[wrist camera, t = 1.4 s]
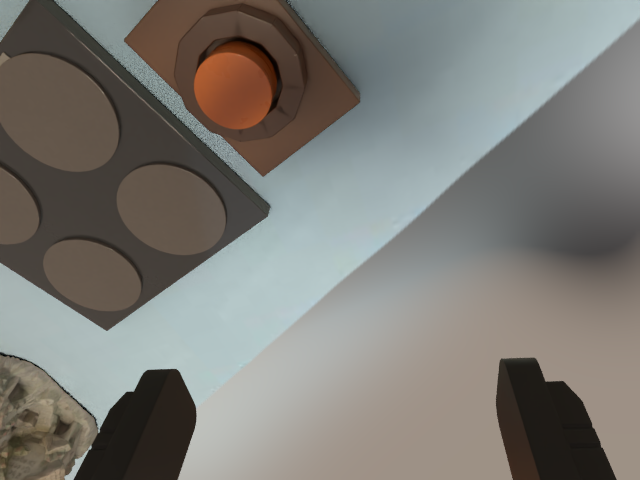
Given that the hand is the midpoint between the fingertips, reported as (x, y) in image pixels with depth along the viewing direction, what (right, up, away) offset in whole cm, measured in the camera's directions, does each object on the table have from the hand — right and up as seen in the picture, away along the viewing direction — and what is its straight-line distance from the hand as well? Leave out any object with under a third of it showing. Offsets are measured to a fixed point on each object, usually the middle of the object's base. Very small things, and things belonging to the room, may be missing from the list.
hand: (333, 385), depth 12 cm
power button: (-5, +12, +14) cm, 19 cm away
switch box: (-4, +14, +16) cm, 22 cm away
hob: (-17, +7, +22) cm, 29 cm away
